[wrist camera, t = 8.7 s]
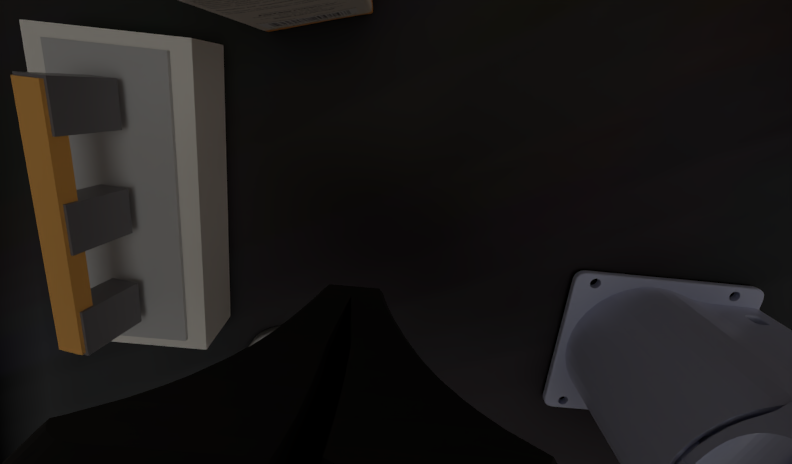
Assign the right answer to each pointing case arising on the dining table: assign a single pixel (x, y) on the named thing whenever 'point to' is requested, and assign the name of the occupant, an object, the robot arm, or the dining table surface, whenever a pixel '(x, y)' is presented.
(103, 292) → the bar
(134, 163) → the tray
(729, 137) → the dining table surface
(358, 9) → the supplement box
